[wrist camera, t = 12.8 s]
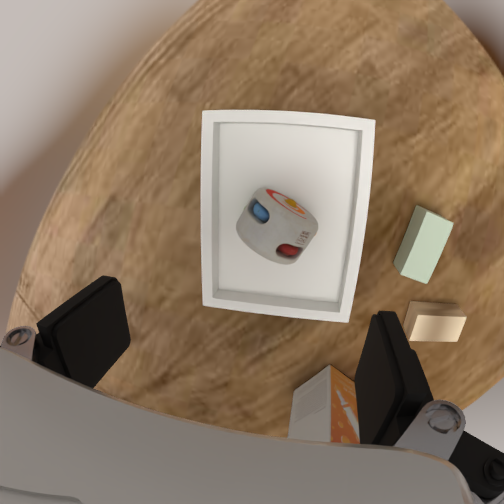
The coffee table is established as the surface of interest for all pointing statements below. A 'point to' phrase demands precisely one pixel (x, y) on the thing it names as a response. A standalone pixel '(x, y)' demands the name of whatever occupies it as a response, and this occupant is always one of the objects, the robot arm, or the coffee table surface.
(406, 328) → the maple block
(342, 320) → the tray
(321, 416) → the small box
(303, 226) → the roller toy
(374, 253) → the coffee table surface
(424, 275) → the sage block
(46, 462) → the robot arm
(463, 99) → the coffee table surface
